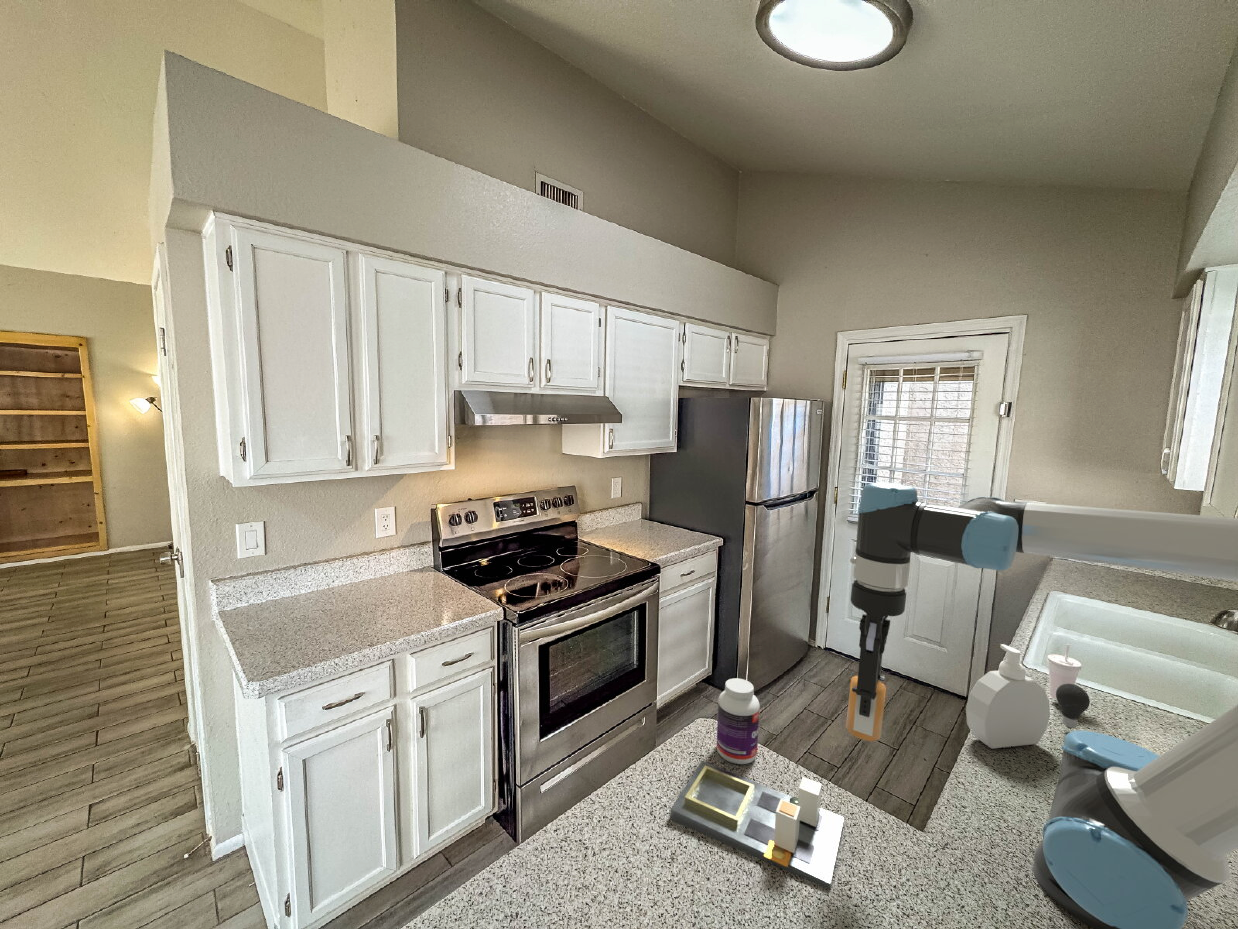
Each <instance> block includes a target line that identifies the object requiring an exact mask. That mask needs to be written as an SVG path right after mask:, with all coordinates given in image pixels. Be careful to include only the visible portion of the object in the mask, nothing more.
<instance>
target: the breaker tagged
mask: <svg viewBox="0 0 1238 929" xmlns="http://www.w3.org/2000/svg"><path fill="white" fill-rule="evenodd" d="M799 822H800V806H797V805H795V804H792V803H790V802H787V801H785V800H782V799H780V802H779V805H778V807H777V810H776V818H775V834H774V845H776V846H779V847H781V848H783V849H785V850H788V851H790V852H792V853H794V852H795V849H796V845H797V842H798V837H799Z"/></svg>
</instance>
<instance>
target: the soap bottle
mask: <svg viewBox="0 0 1238 929" xmlns="http://www.w3.org/2000/svg"><path fill="white" fill-rule="evenodd" d="M999 645H1000V647H999V648H1001V649H1002V650H1003V651H1005V652H1006V653H1007V655H1006V659H1005V660H1002V661H1000V663H999V665H998V670H990V671H988V672H987V673H985V674H984V675H983V676H981V678H979V679H978V680H977V681H976V683H975V685H974V686H973V688H972V690H971V691H970V692H969V696H968V698H967V703H966V707H965V713H966V714H965V715H966V724H967V726H968V728H969V730H970V732H971V729H972V732H971V734H972V736H974V738H977V739H978V740H979V741H981V742H982V743H983V744H985V746H988V748H990V749H991V750H992V749H1001V748H1002V747H1003V748H1011V746H1012V747H1019V746H1029V745H1037V744H1039V742H1040V740H1041V739H1042V738H1043V736H1044V734H1045V733H1046V732H1047V728H1048V724H1049V721H1050V717H1051V708H1050V699H1049V697H1048V695H1047V693H1046V692H1047V691H1046V690H1045V688H1044V686H1042V685H1041V684H1040V683H1039V682H1037V681H1036V680H1034V679H1033V678H1031V677H1030V676H1027V675H1026V674H1027V672H1026V669H1025V666H1024V665H1022V664H1021V663H1020V659H1021V650H1020V649H1016V648H1014V647H1012V646H1010V645H1007V644H1005V643H1003V644H1002V643H1000V644H999ZM972 727H973V728H972Z"/></svg>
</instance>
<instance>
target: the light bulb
mask: <svg viewBox="0 0 1238 929" xmlns="http://www.w3.org/2000/svg"><path fill="white" fill-rule="evenodd" d="M1088 694H1089V693H1087V691H1085V690H1084V689H1083V687H1080V686H1079V685H1077V684H1075V685H1074V684H1063V685H1061V686H1060V687H1058V689H1057V691H1056V698H1057V700H1056V701H1057V702H1058V704H1059V706H1060V709H1061V714H1062V718H1061V722H1062V725H1064V726H1065V727H1066V729H1068V730H1072V729H1076V728H1077V726H1078V720H1079V719H1080V717H1081V715H1082V714H1083V713H1084V712H1085V711H1087V709H1088V708H1089V706H1090V705H1091V704H1090V703H1091V700H1090V697H1089V695H1088Z"/></svg>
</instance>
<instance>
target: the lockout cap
mask: <svg viewBox="0 0 1238 929" xmlns="http://www.w3.org/2000/svg"><path fill="white" fill-rule="evenodd" d="M857 681H858V675H854V676H852V677H851V678H850V685H849V686H850V687H849V695H848V705H847V716H846V721H845V722H846V724H845V727H846V730H847V731H848V733H849V734H851V735H852V736H854V738H855V737H856V738H857V739H859V740H863V741H867V742H877V741H879V740H880V738H882V737H881V736H882V726H883V721H884V720H883V719H884V711H885V703H886V701H885V700H886V695H887V694H886V693H887V686H886V685H885V684H884V683H883V681H880V680H877V686H876V693H877V698H876V707H875V717H874V726H873V735H872V736H870V735H867V734H864V733H861V732H858V731H855V730H853V727H854V717H855V707H856V697H857V694H856V692H853V691H852V688H853V686H854V687H857Z"/></svg>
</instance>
